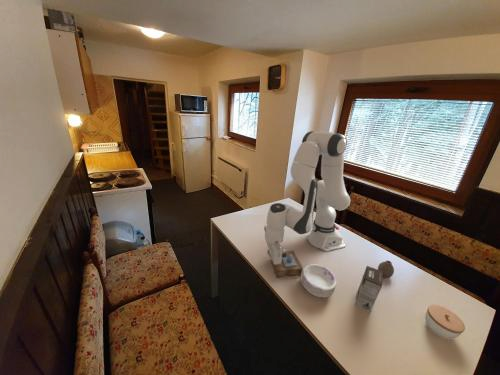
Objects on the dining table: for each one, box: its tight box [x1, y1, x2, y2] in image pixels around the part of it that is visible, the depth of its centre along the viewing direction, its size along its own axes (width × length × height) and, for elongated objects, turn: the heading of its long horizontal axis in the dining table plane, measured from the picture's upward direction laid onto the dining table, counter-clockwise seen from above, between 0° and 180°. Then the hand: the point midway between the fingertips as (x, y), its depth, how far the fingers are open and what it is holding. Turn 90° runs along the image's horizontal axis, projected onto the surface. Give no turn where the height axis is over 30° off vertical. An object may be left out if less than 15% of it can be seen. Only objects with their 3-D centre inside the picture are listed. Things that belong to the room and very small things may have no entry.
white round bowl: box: [300, 263, 338, 298], centre depth 95 cm, size 15×15×8 cm
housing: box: [270, 250, 303, 279], centre depth 106 cm, size 13×13×5 cm
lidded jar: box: [424, 304, 466, 340], centre depth 79 cm, size 11×11×9 cm
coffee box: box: [355, 265, 384, 313], centre depth 88 cm, size 9×6×16 cm
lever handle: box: [267, 247, 287, 256], centre depth 107 cm, size 10×3×3 cm, turn 98°
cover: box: [282, 254, 297, 267], centre depth 103 cm, size 6×6×4 cm
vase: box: [377, 260, 395, 279], centre depth 104 cm, size 7×7×9 cm
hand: (271, 257), depth 103 cm, fingers closed
